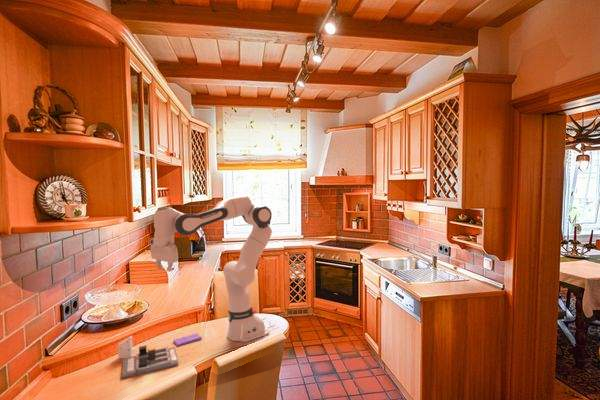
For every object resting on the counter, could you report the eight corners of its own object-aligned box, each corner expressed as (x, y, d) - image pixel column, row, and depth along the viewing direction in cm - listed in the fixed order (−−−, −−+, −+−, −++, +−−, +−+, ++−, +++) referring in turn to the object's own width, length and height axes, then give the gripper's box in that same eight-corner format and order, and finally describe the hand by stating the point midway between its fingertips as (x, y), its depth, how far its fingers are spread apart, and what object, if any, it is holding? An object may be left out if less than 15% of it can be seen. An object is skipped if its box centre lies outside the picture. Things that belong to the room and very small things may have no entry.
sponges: (201, 340, 169) (201, 336, 169) (177, 347, 161) (177, 344, 161) (197, 336, 175) (196, 332, 175) (173, 343, 167) (173, 339, 167)
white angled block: (140, 352, 151) (130, 337, 151) (121, 364, 151) (111, 348, 151) (143, 348, 155) (133, 333, 155) (125, 360, 155) (116, 344, 154)
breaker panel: (174, 350, 158) (174, 338, 158) (178, 364, 143) (177, 351, 143) (123, 361, 148) (123, 348, 148) (122, 378, 134) (121, 364, 134)
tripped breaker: (155, 357, 148) (154, 346, 148) (155, 359, 145) (155, 349, 145) (148, 358, 147) (147, 348, 147) (148, 361, 144) (147, 350, 144)
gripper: (181, 242, 150) (181, 271, 150) (160, 239, 163) (160, 266, 163) (168, 243, 145) (168, 274, 145) (148, 240, 158) (148, 268, 158)
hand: (164, 269), depth 154 cm, fingers open, 8 cm apart
